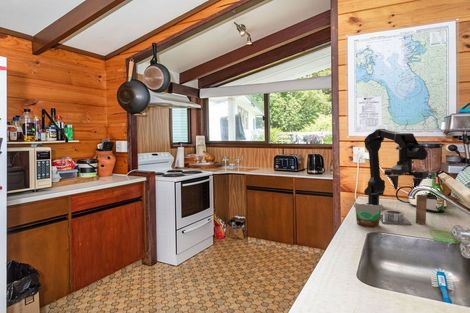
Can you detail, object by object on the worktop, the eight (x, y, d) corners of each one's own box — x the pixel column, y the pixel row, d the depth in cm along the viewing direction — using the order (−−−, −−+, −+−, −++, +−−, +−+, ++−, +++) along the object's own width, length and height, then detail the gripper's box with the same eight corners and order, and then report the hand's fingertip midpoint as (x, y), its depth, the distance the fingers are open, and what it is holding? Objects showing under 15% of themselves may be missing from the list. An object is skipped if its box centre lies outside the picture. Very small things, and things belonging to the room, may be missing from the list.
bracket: (377, 216, 153) (377, 208, 153) (403, 217, 150) (404, 209, 150) (382, 223, 142) (382, 215, 142) (411, 225, 139) (411, 216, 138)
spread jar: (426, 212, 159) (427, 190, 157) (413, 207, 170) (414, 186, 169) (449, 212, 159) (450, 190, 158) (434, 206, 170) (435, 186, 169)
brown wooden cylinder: (414, 221, 144) (415, 194, 143) (423, 222, 143) (425, 194, 142) (417, 224, 140) (418, 196, 139) (427, 224, 139) (428, 196, 138)
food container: (353, 226, 138) (354, 204, 137) (353, 222, 144) (353, 201, 143) (383, 229, 134) (384, 206, 133) (382, 225, 140) (382, 203, 139)
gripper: (377, 159, 153) (377, 190, 153) (415, 160, 137) (415, 195, 137) (390, 158, 158) (390, 187, 159) (429, 159, 142) (428, 192, 143)
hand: (405, 190), depth 150 cm, fingers open, 9 cm apart
